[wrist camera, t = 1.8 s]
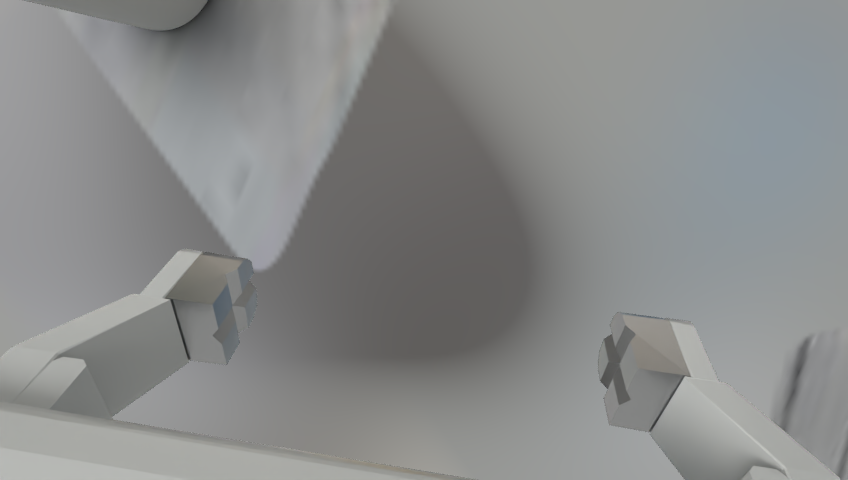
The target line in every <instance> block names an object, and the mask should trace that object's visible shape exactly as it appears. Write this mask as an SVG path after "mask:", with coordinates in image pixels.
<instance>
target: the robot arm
mask: <svg viewBox="0 0 848 480" xmlns="http://www.w3.org/2000/svg"><path fill="white" fill-rule="evenodd" d="M253 274H254V272H253V267H252V262H251V261H250V260H248V259H246V258H240V257H234V256H228V255H222V254H215V253H210V252H201V251H195V250H190V249H183V250H180V251H178V252H177V253H176V254H175V255H174V257H173V258H172V259H171V260H170V261H169V262H168V263H167V264H166V266H165V267H164V268H163V269H162V270H161V271H160V272H159V273H158V274H157V276H156V277H155V278H154V279H153V280H152V281H151V282H150V283H149V284H148V286H147V287H146V288H145V289H144V290H143V291H142V292H141V294H140V295H136V294H131V295H129V296H127V297H125V298H122V299H120V300H118V301H115V302H113V303H111V304H108V305H106V306H104V307H102V308H99V309H97V310H95V311H93V312H90V313H88V314H86V315H84V316H81V317H79V318H77V319H74V320H72V321H70V322H67V323H65V324H63V325H61V326H58V327H56V328H54V329H52V330H49V331H47V332H45V333H42V334H40V335H38V336H36V337H33V338H32V339H29V340H26V341H24V342H22V343H20V344H17V345H15V346H13V347H12V348H11V349H9V350H8V351H7V352H6V353H5V354H4V355H3V356H2V357H1V358H0V480H476V479H470V478H464V477H458V476H452V475H445V474H439V473H433V472H427V471H421V470H415V469H409V468H403V467H397V466H391V465H385V464H378V463H373V462H367V461H361V460H354V459H349V458H343V457H337V456H330V455H324V454H318V453H312V452H306V451H300V450H294V449H288V448H282V447H276V446H270V445H264V444H258V443H252V442H245V441H239V440H233V439H227V438H221V437H215V436H209V435H203V434H197V433H191V432H184V431H178V430H172V429H166V428H160V427H154V426H148V425H142V424H136V423H130V422H124V421H118V420H113V418H112V417H113V416H114V415H115V414H117V413H118V412H120V411H121V410H122V409H124V408H125V407H126V406H128V405H129V404H131V403H132V402H134V401H135V400H136V399H138V398H139V397H141V396H142V395H144V394H145V393H146V392H148V391H149V390H151V389H152V388H154V387H155V386H156V385H158V384H159V383H161V382H162V381H163V380H165V379H166V378H168V377H169V376H171V375H172V374H173V373H175V372H176V371H178V370H179V369H180V368H182V367H183V366H185V365H186V364H187V363H189V360H190V361H198V362H205V363H214V364H221V365H227V364H228V362H229V360H230V359H231V357H232V355H233V353H234V352H235V350H236V348H237V347H238V345H239V343H240V341H239V335H238V333H240V332H242V331H244V330H245V329H247V328H248V327H249V325H250V324H251V322H252V320H253V318H254V315H255V311H256V307H257V290H256V287H255V286H254V285H253V284H252V283H251V282H250V281H249V280H250V278H251V277H252V275H253ZM610 327H611V331H612V334H611V335H610V336H608V337H607V338H605V339H604V340H603V342H602V345H601V348H600V351H599V359H598V372H599V378H600V381H601V383H602V384H603V385H604V386H605V387H606V388H607V389H608V390H607V392H606V394H605V397H604V403H605V406H606V412H607V416H608V421H609V425H612V426H618V427H623V428H629V429H634V430H640V431H645V432H650V435H651V437H652V438H653V439H654V441H655V442H656V443H657V444H658V446H659V447H660V448H661V450H662V451H663V452H664V453H665V455H666V456H667V457H668V459H669V460H670V461H671V462H672V464H673V465H674V466H675V467H676V469H677V470H678V472H680V474H681V475H682V477H683V478H684V479H685V480H841V479H840V478H839V477H838V476H837V475H836V474H834V473H833V472H832V471H831V470H830V469H828V468H827V467H826V466H825V465H824V464H823V463H821V462H820V461H819V460H818V459H817V458H815V457H814V456H813V455H812V454H811V453H810V452H808V451H807V450H806V449H805V448H804V447H802V446H801V445H800V444H799V443H798V442H796V441H795V440H794V439H793V438H792V437H791V436H789V435H788V434H787V433H786V432H785V431H783V430H782V429H781V428H780V427H779V426H777V425H776V424H775V423H774V422H773V421H772V420H770V419H769V418H768V417H767V416H766V415H764V414H763V413H762V412H761V411H760V410H759V409H757V408H756V407H755V406H754V405H753V404H751V403H750V402H749V401H748V400H747V399H745V398H744V397H743V396H742V395H741V394H739V393H738V392H737V391H736V390H735V389H734V388H732V387H731V386H730V385H729V384H728V383H725V382H719V379H718V377H717V375H716V373H715V371H714V369H713V366H712V364H711V362H710V360H709V357H708V355H707V353H706V351H705V349H704V346H703V344H702V342H701V340H700V338H699V335H698V333H697V331H696V329H695V327H694V325H693V324H692V323H691V322H690V321H683V320H676V319H668V318H665V319H663V318H657V317H651V316H643V315H636V314H629V313H621V312H617V313H616V314H615V315H614V317H613V319H612V321H611V323H610Z"/></svg>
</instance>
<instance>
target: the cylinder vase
mask: <svg viewBox="0 0 848 480" xmlns="http://www.w3.org/2000/svg"><path fill="white" fill-rule="evenodd" d="M24 1H29V2H33V3H37V4H42V5H45V6H50V7H54V8H58V9H63V10H67V11H71V12H75V13H80V14H84V15H88V16H92V17H97V18H101V19H105V20H109V21H114V22H118V23H122V24H127V25H131V26H135V27H139V28H144V29H148V30H155V31H164V30H171V29H175V28H178V27H180V26H182V25H184V24H186V23H188V22H189V21H191V20H192V19H193V18H194V17H195V16H196V15H197V14H198V13H199V12H200V11H201V10H202V9H203V7H204V6H205V4H206V3H207V1H208V0H24Z"/></svg>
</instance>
